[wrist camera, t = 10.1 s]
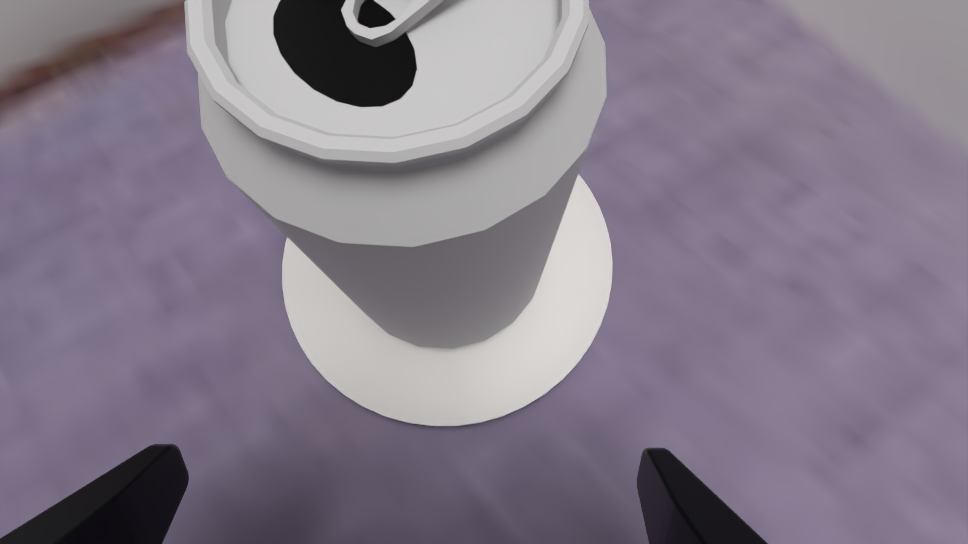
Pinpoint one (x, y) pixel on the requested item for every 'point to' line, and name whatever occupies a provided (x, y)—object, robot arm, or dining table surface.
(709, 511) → the robot arm
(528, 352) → the plate
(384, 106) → the can
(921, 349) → the dining table surface
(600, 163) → the dining table surface
